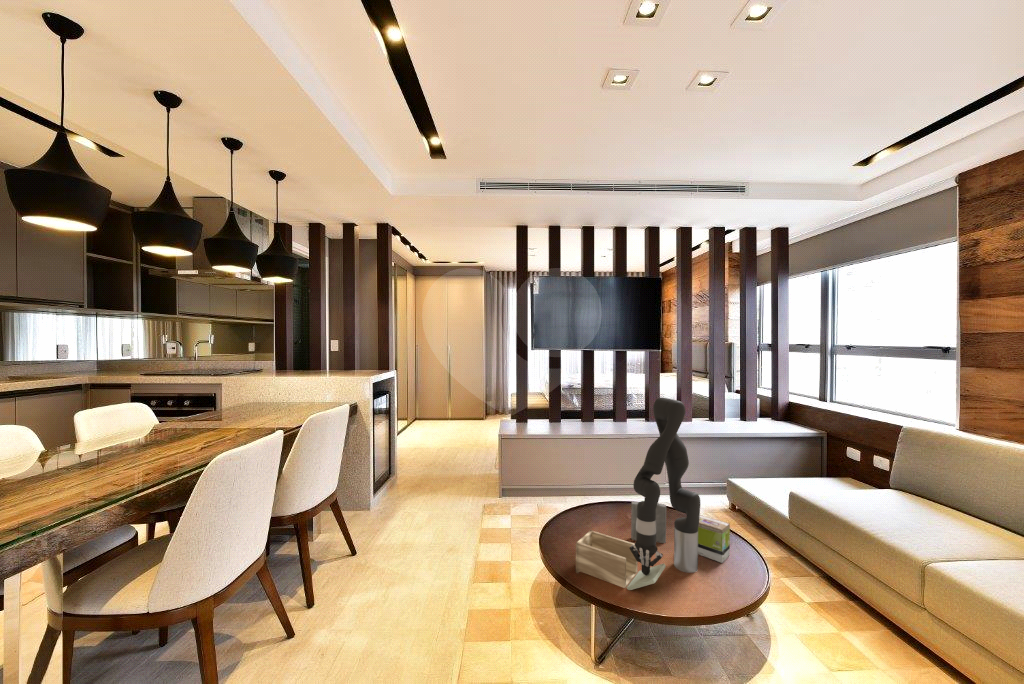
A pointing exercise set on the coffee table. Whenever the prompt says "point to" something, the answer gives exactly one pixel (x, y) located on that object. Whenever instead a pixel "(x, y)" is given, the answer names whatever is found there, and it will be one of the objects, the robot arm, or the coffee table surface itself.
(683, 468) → the robot arm
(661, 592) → the coffee table surface
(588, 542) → the box
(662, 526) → the hip flask
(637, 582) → the flat panel
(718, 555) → the tea box
